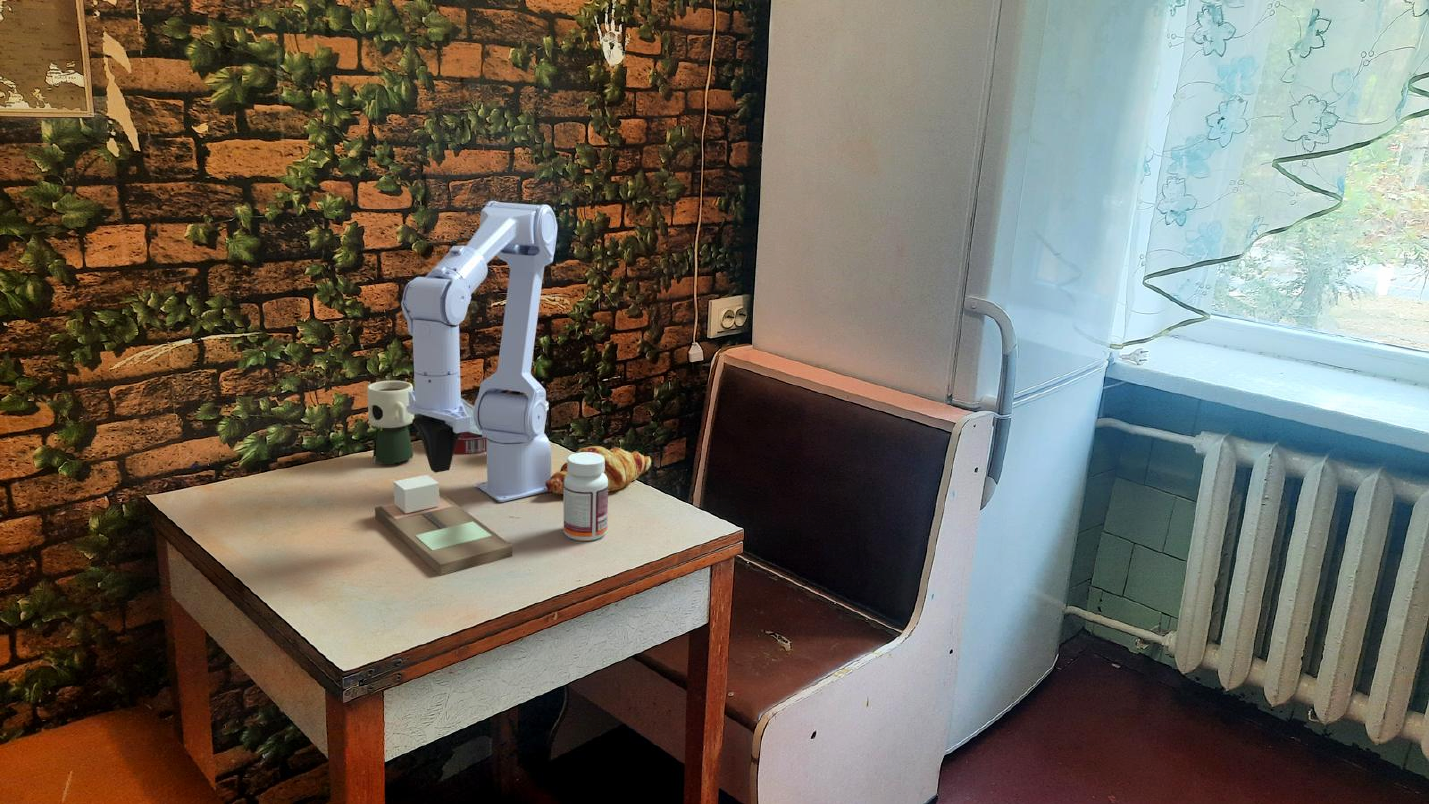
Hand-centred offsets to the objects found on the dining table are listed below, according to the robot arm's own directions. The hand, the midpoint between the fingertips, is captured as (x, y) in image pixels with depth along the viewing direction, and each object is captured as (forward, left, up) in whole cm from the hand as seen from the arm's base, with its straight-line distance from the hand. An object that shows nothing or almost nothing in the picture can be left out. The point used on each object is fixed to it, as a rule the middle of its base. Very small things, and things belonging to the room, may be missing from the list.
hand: (440, 470), depth 125 cm
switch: (-1, -2, -11) cm, 11 cm away
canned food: (-21, -35, -11) cm, 42 cm away
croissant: (-30, -7, -11) cm, 33 cm away
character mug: (-7, -34, -11) cm, 36 cm away
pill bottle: (-18, +8, -11) cm, 22 cm away
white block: (-1, -10, -9) cm, 13 cm away
